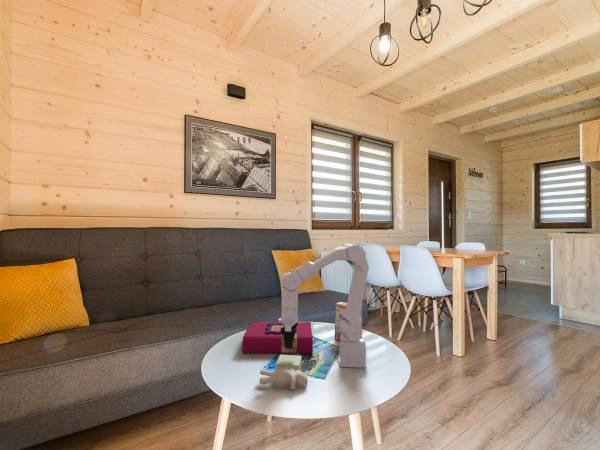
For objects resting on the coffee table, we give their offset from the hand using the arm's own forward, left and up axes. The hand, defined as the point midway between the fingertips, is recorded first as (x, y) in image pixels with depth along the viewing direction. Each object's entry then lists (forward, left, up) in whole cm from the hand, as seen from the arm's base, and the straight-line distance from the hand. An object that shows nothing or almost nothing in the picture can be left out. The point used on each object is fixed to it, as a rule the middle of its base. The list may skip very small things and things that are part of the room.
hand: (289, 345), depth 110 cm
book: (+6, -22, -9) cm, 25 cm away
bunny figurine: (+1, +12, -9) cm, 15 cm away
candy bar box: (-24, -28, -9) cm, 38 cm away
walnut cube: (0, 0, -2) cm, 2 cm away
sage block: (0, 0, -9) cm, 9 cm away
